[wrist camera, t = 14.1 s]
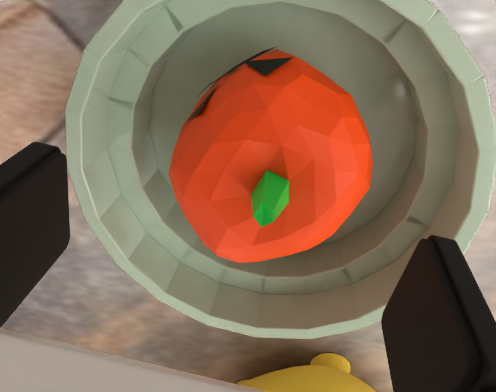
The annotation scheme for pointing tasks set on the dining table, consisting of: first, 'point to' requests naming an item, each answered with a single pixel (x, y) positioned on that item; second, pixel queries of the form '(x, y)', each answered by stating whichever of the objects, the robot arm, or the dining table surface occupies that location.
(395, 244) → the bowl
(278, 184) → the pumpkin
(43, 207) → the robot arm
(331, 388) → the yellow rounded piece
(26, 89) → the dining table surface
